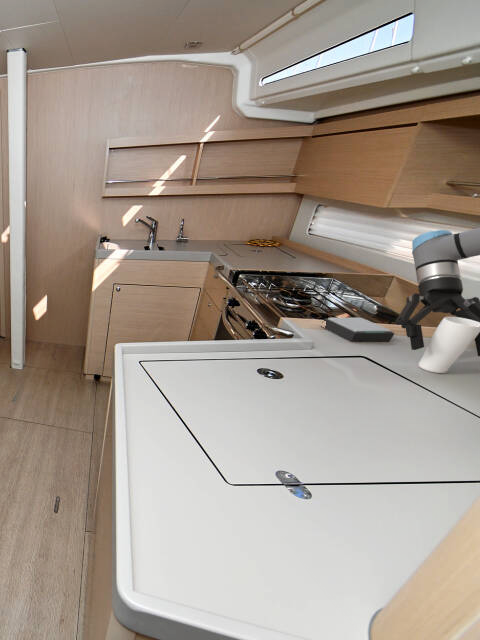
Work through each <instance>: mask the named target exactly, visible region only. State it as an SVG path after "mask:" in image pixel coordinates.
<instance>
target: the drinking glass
mask: <svg viewBox="0 0 480 640" xmlns="http://www.w3.org/2000/svg"><path fill="white" fill-rule="evenodd" d="M479 332H480V323H479V322H477V321H474V320H470V319H465V318H459V317H457V316H444V317H443V318H442V319H441V320H440V322H439V323H438V325H437V327H436V328H435V330H434V332H433V333H432V336H431V338H430V340H429V342H428V344H427V346H426V348H425V350H424V353H423V354H422V357H421V358H420V360H419V361H418V363H417V366H418V367H419V368H420V369H422V370H424V371H427V372H431V373H435V374H445V373H447V372H448V371H449V370H450V368H451V367H452V366H453V364H454V363H455V362H456V361H457V360H458V359H459V358H460V357H461V356H462V354H463V353H464V352H465V351H466V349H468V347H470V346H471V344H472V343H473V342H474V341H475V338H476V337H477V335H478V334H479Z"/></svg>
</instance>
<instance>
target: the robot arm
mask: <svg viewBox="0 0 480 640" xmlns="http://www.w3.org/2000/svg"><path fill="white" fill-rule="evenodd" d="M411 246H412V247H411V248H412V251H411V254H412V257H413V262H414V263H413V264H414V269H415V276H416V281H417V282H416V283H417V284H418V285H417V289H418V293H417V292H416V293H413V294H410V295H409V296H407V297H406V299H405V300H406V302H405V305H404V307H403V308H402V310H401V311H400V313H399V315H398V317H397V318H396V319H395V322H394V323H395V325H398V326H400V325H401V328H402V329H405V334H406V337H407V338H409V341H410V347H411V351H416V350H420V349H423V348H425V341H424V336H423V330H422V325H421V324H418V323H420V322H421V321H422V320H423V319H424V318H425V317H427V315H429V314H431V313H442V314H450V315H451V316H452V317H459V318H465V319H470V320H474V321H477V322H479V323H480V298H479V297H478V296H474V297H472V298H471V297H470V298H464V297H463V295H462V294H463V292H464V287H463V282H462V279H461V278H462V275H461V271H460V267H459V262H458V261H461V260H465V259H469V258H474V257H478V256H480V227H476V228H473V229H469V230H466V231H461V232H458V233H453V232H452V231H451V230H448V229H437V230H430V231H427V232H423V233H421V234H419V235H417V236H416V237H414V238H413V240H412V242H411ZM419 303H421V304H423V307H421V308H420V309H419V311H417V313H415V314H414V315H413V313H414V312H415V310H416V308H418V305H419ZM412 315H413V316H412ZM474 343H475V348H476V354H477V357H480V332H479V334H478V335H477V337H476V338H475V339H474Z"/></svg>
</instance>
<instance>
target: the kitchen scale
mask: <svg viewBox="0 0 480 640" xmlns="http://www.w3.org/2000/svg"><path fill="white" fill-rule="evenodd" d="M323 320H324V321H326V326H325V330H327V331H328V332H330V333H332V334H334V335H336V336H339V337H340V338H342V339H344V340H346V341H348V342H350V343H364V342H365V343H390V342H391V340H392V338H393V337H394V336H395V332H393V331H392V330H391V329H389V328H386V327H385V326H382V325H379V324H377V323H375V322H372V321H370V320H368V319H366V318H363V317H327V318H323Z"/></svg>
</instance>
